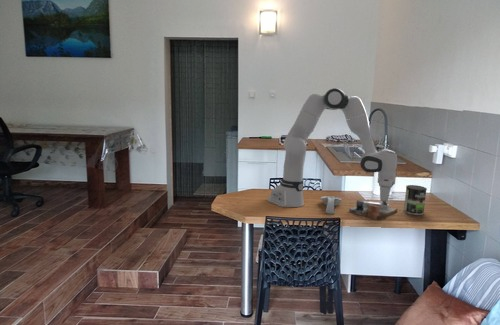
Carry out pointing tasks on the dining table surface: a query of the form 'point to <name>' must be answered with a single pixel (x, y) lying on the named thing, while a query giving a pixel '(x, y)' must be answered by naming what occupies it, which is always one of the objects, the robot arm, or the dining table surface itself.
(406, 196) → the coffee can
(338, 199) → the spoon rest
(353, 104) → the robot arm
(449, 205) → the dining table surface
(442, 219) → the dining table surface
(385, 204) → the latch bar
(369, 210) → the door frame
